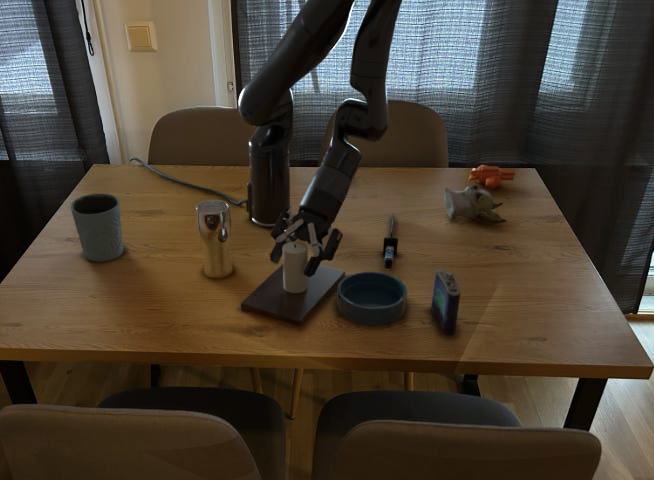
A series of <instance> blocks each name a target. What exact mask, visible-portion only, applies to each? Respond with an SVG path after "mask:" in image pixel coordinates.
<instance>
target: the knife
mask: <svg viewBox="0 0 654 480" xmlns="http://www.w3.org/2000/svg"><path fill="white" fill-rule="evenodd" d="M394 220H395V214H394V213H393V214H392V219H391V229H390V236H388V237H387V236H386V237H383V247H382V255H384V259H383V260H384V261H383V269H384V270H392V269H393V263H394V257H396V256H397V255H398V246H399V238H397V237H393V235H394V233H393V232H394Z"/></svg>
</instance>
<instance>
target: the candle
mask: <svg viewBox="0 0 654 480" xmlns="http://www.w3.org/2000/svg"><path fill="white" fill-rule="evenodd" d="M308 249H309V247H308V245H307V244H306V243H304V242H303V241H298V240H296V241H294V242H288V243H286V244H285V245H284V246H283V254H282V264H283V282H284V289H285V290H286V291H287V292H290V293H301V292H304V291H305V290H306V289H307V287H308V277H307V276H305V275H304V270H305V268H306V266H307V264H308V262H309V259H308V258H309V257H308V256H309V253H308V252H309V251H308Z"/></svg>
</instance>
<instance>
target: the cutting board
mask: <svg viewBox="0 0 654 480" xmlns="http://www.w3.org/2000/svg"><path fill="white" fill-rule="evenodd" d="M345 277H346V270H345V271H344V270H341V269H339V268H338V269H337V268H334V267H330V266H326V265H323V264H320V265H319V267H318V269H317V271H316V273H315V274H314V275H312V276H311V277H310V278H309V277H308V287H307V289H306V290H305V291H304V292H301V293H290V292H287V291H286V290H285V289H284V282H283V263H282V264H281V265H280V266H279V267H277V269H276V270H275V271H273V272H272V274H271V275H269V276H268V277H267V278H266V279H265V280H264V281H263V282H262V283H261V284H260V285H258V286H257V287H256V288H255V289H254V290H253V291H252V292H251V293H250V294H249V295H248V296H246V298H245V299H244V300H242V301H241V302H240V309H241V311H245V312H248V313H254V314H257V315H261V316H263V317H267V318H270V319H273V320H277V321H279V322H282V323H283V322H284V323H286V324H289V325H292V326H296V327H302V325H304V323H305V322H306V321H307V320H308V319H309V318H310V317H311V315H313V313H314V312H315V311H316V310H317V309H318V308H319V306H320V305H321V304H322V303H323V302H324V301H325V300H326V299H327V298H328V296H329V295H330V294H331V293H332V292H333V291H334V290H335V289H336V288H337V287H338V285H339V283H340V282H341V281H342V279H344V278H345Z"/></svg>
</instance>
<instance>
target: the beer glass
mask: <svg viewBox="0 0 654 480" xmlns="http://www.w3.org/2000/svg"><path fill="white" fill-rule="evenodd" d="M195 213H196V214H195V219H196V230H197V235H198V236H197V237H198V239H199V243H200V246H201V249H202V253H203V257H204V265H203V266H204V267H203V273H204V275H205V276H206V277H208V278H211V279H223V278H225V277H228V276H230V275H231V274H232V272H233V271H234V270H233V264H232V260H231V254H230V252H231V251H230V250H231V241H232V232H233V231H232V219H231V211H230V204H229V203H228V202H227V201H224V200H222V199H206V200H204V201H200V202H199V203H198V204H196V206H195Z"/></svg>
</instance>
